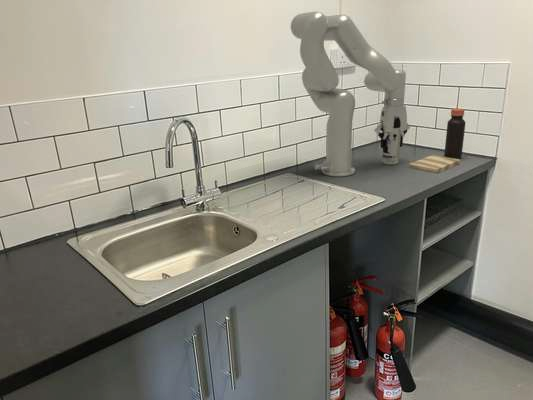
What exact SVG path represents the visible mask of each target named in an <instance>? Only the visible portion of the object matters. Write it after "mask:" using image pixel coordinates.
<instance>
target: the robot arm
mask: <svg viewBox="0 0 533 400" xmlns="http://www.w3.org/2000/svg"><path fill="white" fill-rule="evenodd" d="M290 30H291V33H292V35H293V36H294V37H295V38H296V39H299V40H300V45H299V54H300V59H301V61H302V64H303V65H304V69H303V70H302V74H301V81H302V84H303V87H304V89H305V90H306V92H307V93H308V95H309V97H310V99H311V101H312V102H313V103H314V105H315V106H316V108H317V109H318V110H319V111H320V112H322V113H325V114H326V113H327V114H329V116H328V119H327V122H326V129H325V131H326V135H325V136H326V138H325V139H326V143H325V144H326V145H325V146H326V148H325V150H326V151H325V153H326V159H325V160H323V163H321V164H314V170H316V171H317V170H320V171H321V173H323V175H326V176H330V177H347V176H348V177H349V176H353V174H355V173H356V169H355V168H354V167H353V166H352V144H353V143H352V142H353V140H352V139H353V138H352V137H353V119H354V112H355V108H356V99H355V96H354V95H353V94H352V93H351V91H349V90H347V89H343V88H339V87H338V85H339V84H340V83H339V81H340V78H339V74H338V72H337V70H336V68H335V67H334V65H333V63H332V61H331V60H330V59H331V58H329V56H328V54H327V52H326V49H325V41H327V42H328V41H330V42H331V41H334V42H335V43H336V45H338V47H339V48H340V49H341V51H342V52H343V54H344V55H345V57H346V58H347V59H348V60H349V61H350V62H351V63H353V64H354V65H356V66H358V67H360V68H362V69H364V70H367V72H368V73H367V74H366V75H365V76H364V79H363V80H364V81H363V83H364V85H365V87H366V89H368V90H370V91H373V92H381V93H382V92H383V93H384V97H383V100H382V101H381V104H382V105H383V106H382V108H381V112H380V116H379V117H380V119H379V124H378V125H377V127H375V128H374V130H373V131H374V132H375V133H376V135H377V136H378V137H379V139H380V148H381V149H382V150H383V149H386V148H387V139H386V137H387V134H388V133H392V132H393V126H394V117H395V116H396V117H395V118H397V116H398V118H399V119H400V122H401V127H400V128H401V129H400V131H401V138H400V148H402V147H403V144H404V143H403V142H404V137H405V135H406V134H407V132H408V131H409V129H410V128H411V125H409V123H408V115H407V114H408V113H407V106H406V105H405V93H406V92H405V91H406V80H407V78H406V75H407V74H406V71H405V70H404V69H395V68H394V66H393V65H392V63H391V62H390V61H389V60H388V59H387V58H386V57H385V56H384V55H383V54H381V53H380V52H379V51H377V50H376V49H375V48H373V46H371V45H370V44H369V43H368V41H367V40H366V38H365V37H364V36H363V34H362V33H361V31H360V30H359V28H358V27H357V26H356V23H354V20H352V19H351V17H350V16H348V15H346V14H334V15H325V14H324V13H322V12H321V11H309V12H303V13H299V14H297V15H295V16H294V17H293V18H292V19H291V22H290Z"/></svg>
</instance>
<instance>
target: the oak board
mask: <svg viewBox="0 0 533 400" xmlns="http://www.w3.org/2000/svg"><path fill="white" fill-rule="evenodd" d="M460 164H461V159H454V158H448V157H444V156H441V155H436V154H431V155H428V156H426V157H424V158H421V159H418V160H415V161H413V162H410V163H408V168H409V169H415V170H419V171H424V172H428V173H433V174H439V173H441V172H444V171H445V170H448V169H450V168H452V167H455V166H457V165H460Z"/></svg>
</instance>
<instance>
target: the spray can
mask: <svg viewBox="0 0 533 400" xmlns="http://www.w3.org/2000/svg"><path fill="white" fill-rule="evenodd" d="M395 117H396V116H395ZM395 117H394V126H393V132H392V133H388V134H387V137H386V139H387V148H386V149H383V148H382V157H381V158H382V159H381V162H382V164H384V165H387V166H395V165H398V164H399V163H400V151H401V147H400V138H401V131H400V129H401V128H400V127H401V122H400V119H399V118H398V116H397V118H395Z"/></svg>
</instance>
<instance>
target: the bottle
mask: <svg viewBox="0 0 533 400" xmlns="http://www.w3.org/2000/svg"><path fill="white" fill-rule="evenodd" d="M464 116H465V109H463V108H451V110H450V117H451V118H450V119H448V121H447V126H446V135H445V143H444V144H445V145H444V154H443V157H448V158H454V159H459V160H461V159H462V155H463V147H464V139H465V129H466V121H465V120H464V118H463V117H464Z"/></svg>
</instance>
